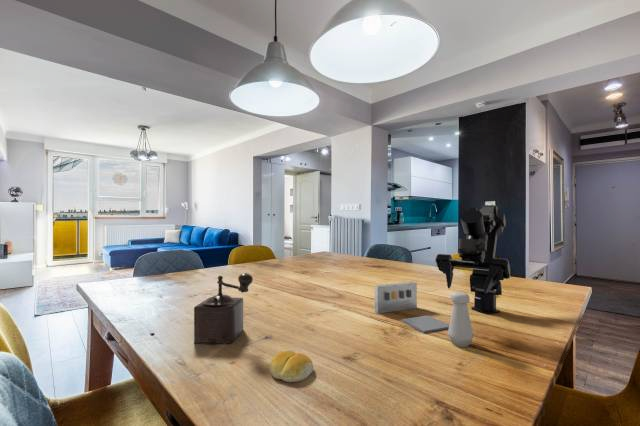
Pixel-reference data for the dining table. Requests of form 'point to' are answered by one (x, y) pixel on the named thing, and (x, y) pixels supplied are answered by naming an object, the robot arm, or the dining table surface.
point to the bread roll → (291, 366)
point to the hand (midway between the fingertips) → (466, 290)
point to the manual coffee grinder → (221, 315)
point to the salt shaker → (460, 321)
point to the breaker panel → (395, 297)
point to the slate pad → (426, 324)
